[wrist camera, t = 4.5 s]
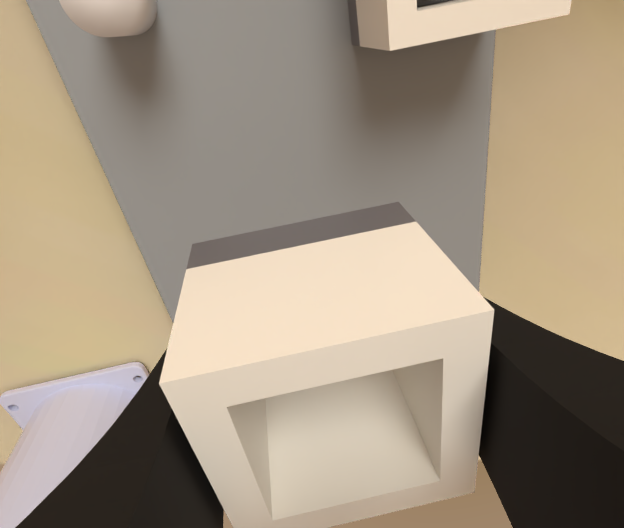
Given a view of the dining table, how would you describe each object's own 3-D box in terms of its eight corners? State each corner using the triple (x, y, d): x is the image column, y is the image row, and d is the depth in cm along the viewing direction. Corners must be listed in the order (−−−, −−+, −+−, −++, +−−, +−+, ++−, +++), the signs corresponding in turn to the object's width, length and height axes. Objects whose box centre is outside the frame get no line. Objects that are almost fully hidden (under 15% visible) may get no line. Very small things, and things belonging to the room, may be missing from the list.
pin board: (465, 283, 23) (509, 333, 20) (194, 345, 23) (184, 409, 19) (486, -221, 13) (589, -326, 9) (-13, -132, 12) (-130, -204, 8)
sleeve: (405, 352, 13) (474, 492, 9) (243, 388, 12) (244, 547, 9) (398, 201, 10) (494, 310, 6) (192, 243, 10) (158, 383, 6)
